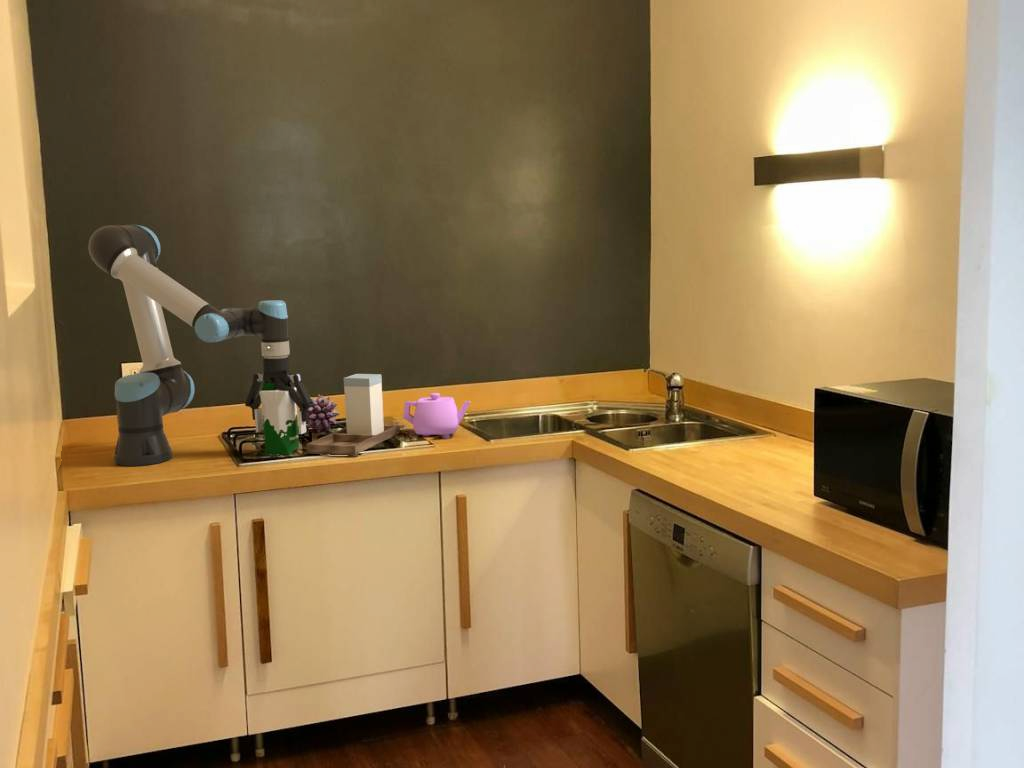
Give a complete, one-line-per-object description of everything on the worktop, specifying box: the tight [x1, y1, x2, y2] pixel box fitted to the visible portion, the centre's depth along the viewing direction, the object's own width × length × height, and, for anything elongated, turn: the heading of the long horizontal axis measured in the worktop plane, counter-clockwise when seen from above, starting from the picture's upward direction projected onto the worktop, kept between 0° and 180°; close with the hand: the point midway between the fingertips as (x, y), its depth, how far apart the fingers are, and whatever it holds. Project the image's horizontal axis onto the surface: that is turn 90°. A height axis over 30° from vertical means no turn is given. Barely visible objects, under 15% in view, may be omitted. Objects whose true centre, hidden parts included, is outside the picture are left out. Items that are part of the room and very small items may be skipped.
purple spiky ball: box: [306, 394, 340, 434], centre depth 320 cm, size 12×12×12 cm
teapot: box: [402, 392, 471, 440], centre depth 311 cm, size 20×12×13 cm, turn 88°
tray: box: [305, 424, 401, 458], centre depth 303 cm, size 15×29×3 cm, turn 162°
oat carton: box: [343, 373, 385, 435], centre depth 308 cm, size 8×8×18 cm
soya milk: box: [258, 381, 300, 456], centre depth 295 cm, size 9×9×20 cm
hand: (281, 432), depth 295 cm, fingers open, 13 cm apart
